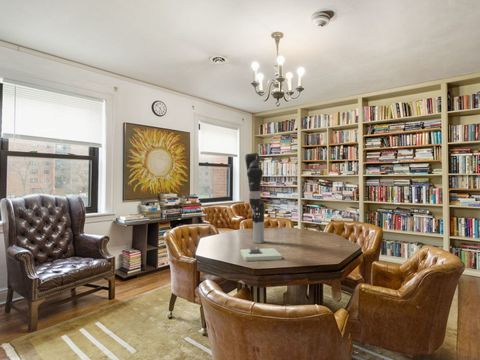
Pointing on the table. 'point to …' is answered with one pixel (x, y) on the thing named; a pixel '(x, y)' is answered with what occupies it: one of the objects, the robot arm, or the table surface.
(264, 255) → the chassis board
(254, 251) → the servo block
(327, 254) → the table surface
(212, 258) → the table surface
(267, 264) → the table surface
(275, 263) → the table surface
